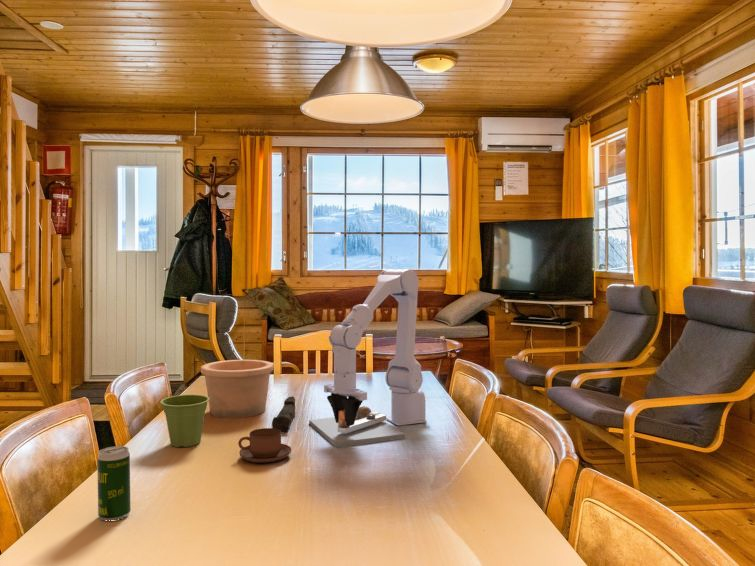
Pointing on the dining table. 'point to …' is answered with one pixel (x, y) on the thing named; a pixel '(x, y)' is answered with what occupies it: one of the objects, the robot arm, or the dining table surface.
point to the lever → (358, 421)
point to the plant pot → (185, 418)
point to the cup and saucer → (264, 446)
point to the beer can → (113, 483)
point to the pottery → (237, 387)
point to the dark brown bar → (285, 415)
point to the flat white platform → (355, 432)
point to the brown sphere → (364, 412)
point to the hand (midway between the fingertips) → (344, 423)
